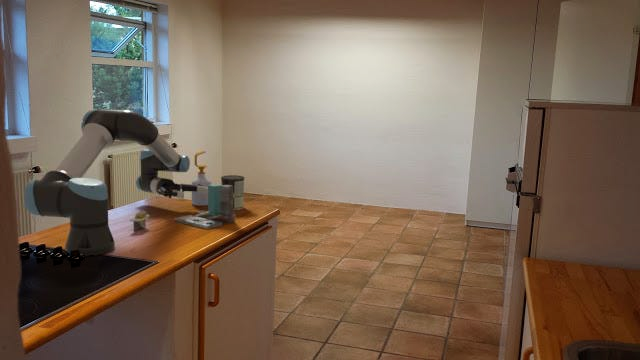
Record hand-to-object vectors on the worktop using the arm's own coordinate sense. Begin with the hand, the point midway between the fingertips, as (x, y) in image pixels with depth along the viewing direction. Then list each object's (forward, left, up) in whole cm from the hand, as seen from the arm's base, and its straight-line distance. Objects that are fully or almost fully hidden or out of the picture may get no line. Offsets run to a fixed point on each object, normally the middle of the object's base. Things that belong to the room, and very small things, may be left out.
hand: (196, 193), depth 239 cm
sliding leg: (-4, -11, -7) cm, 14 cm away
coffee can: (+21, -1, -10) cm, 23 cm away
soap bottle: (+17, +15, -10) cm, 25 cm away
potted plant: (-29, -2, -10) cm, 31 cm away
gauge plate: (-9, -11, -10) cm, 17 cm away
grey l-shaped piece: (-4, -11, -10) cm, 15 cm away
